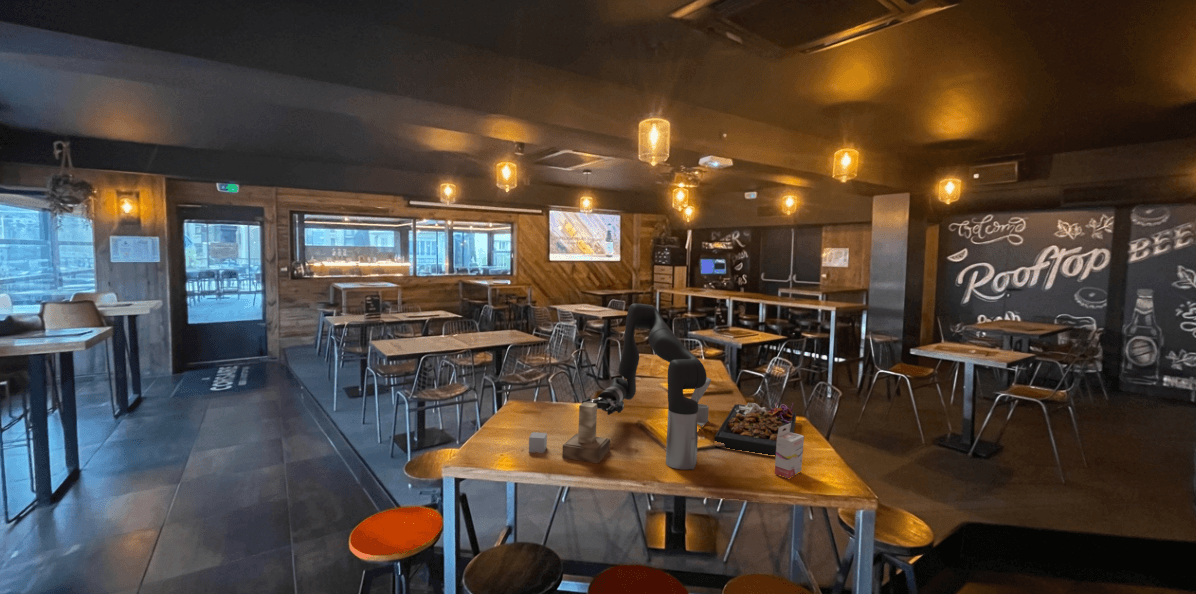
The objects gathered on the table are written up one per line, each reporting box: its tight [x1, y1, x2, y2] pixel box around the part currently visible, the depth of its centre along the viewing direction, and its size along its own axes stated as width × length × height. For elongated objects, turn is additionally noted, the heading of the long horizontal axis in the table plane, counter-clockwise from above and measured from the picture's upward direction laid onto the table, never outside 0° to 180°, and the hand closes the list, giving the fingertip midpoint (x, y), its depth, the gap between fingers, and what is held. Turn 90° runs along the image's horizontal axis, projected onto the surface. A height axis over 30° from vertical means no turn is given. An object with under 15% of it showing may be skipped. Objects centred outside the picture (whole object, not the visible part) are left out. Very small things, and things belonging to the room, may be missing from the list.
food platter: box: [713, 401, 797, 456], centre depth 194 cm, size 45×25×10 cm, turn 157°
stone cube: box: [528, 431, 548, 454], centre depth 170 cm, size 5×5×5 cm
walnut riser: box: [561, 433, 611, 464], centre depth 168 cm, size 12×12×4 cm
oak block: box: [577, 402, 598, 444], centre depth 167 cm, size 4×4×12 cm
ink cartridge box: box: [774, 423, 805, 479], centre depth 157 cm, size 9×5×15 cm, turn 134°
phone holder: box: [690, 377, 712, 428], centre depth 202 cm, size 17×10×18 cm, turn 153°
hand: (596, 410), depth 176 cm, fingers open, 8 cm apart
